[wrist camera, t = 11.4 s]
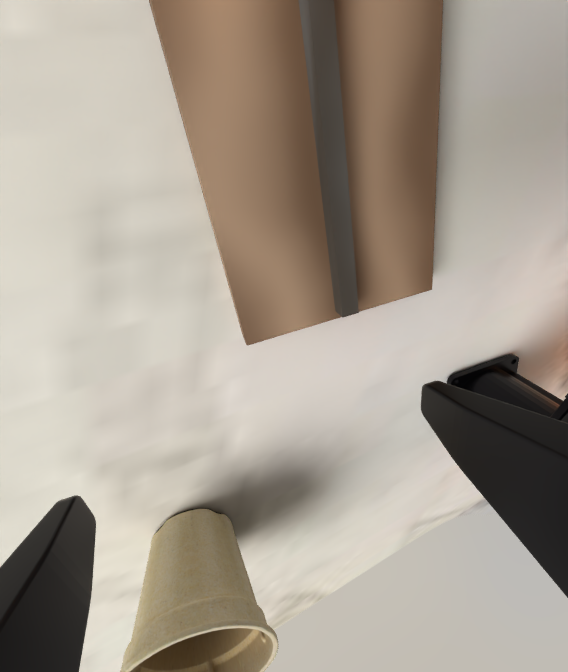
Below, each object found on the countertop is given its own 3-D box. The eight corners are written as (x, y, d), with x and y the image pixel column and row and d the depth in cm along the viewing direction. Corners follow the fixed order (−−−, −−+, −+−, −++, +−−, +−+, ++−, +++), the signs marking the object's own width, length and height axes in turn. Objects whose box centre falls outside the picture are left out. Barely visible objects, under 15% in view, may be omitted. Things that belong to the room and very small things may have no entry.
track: (425, -318, 11) (603, -671, 7) (417, 282, 22) (482, 312, 17) (56, -329, 9) (-67, -832, 5) (242, 334, 20) (262, 384, 15)
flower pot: (271, 530, 29) (303, 653, 22) (178, 586, 29) (178, 730, 21) (213, 472, 24) (228, 605, 17) (101, 539, 24) (66, 704, 17)
